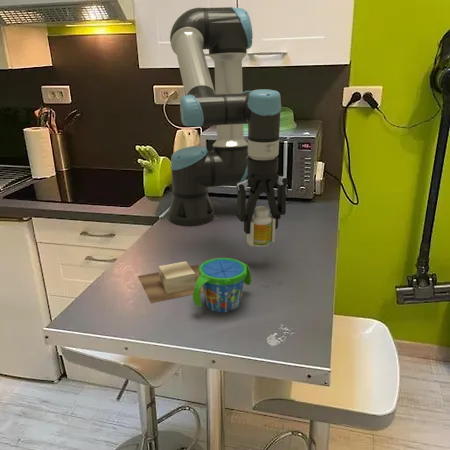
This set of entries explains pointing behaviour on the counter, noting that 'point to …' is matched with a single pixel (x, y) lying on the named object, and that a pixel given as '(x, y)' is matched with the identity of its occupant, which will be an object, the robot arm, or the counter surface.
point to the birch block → (177, 277)
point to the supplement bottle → (262, 226)
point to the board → (157, 290)
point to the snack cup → (221, 283)
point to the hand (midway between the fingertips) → (260, 241)
